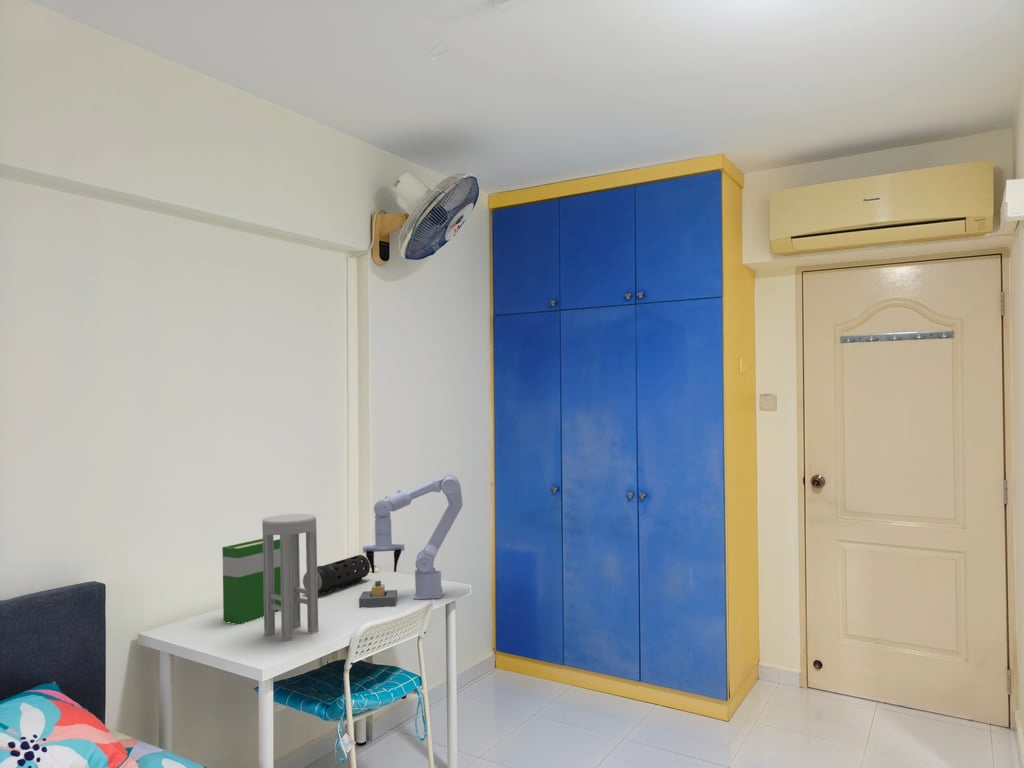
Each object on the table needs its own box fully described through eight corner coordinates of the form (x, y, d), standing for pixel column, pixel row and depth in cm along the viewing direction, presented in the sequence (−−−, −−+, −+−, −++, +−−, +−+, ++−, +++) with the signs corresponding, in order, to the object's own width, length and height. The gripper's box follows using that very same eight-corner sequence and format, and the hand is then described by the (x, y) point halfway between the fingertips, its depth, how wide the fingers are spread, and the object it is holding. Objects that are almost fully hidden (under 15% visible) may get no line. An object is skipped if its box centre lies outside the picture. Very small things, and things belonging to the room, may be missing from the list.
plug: (384, 601, 256) (384, 579, 256) (383, 604, 252) (383, 582, 252) (373, 602, 256) (372, 580, 256) (371, 605, 252) (371, 583, 252)
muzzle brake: (370, 581, 287) (370, 554, 287) (321, 599, 262) (321, 570, 262) (351, 579, 291) (351, 553, 292) (301, 596, 266) (300, 567, 267)
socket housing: (397, 598, 260) (397, 589, 260) (394, 606, 250) (394, 597, 250) (363, 600, 259) (362, 591, 259) (359, 607, 249) (359, 598, 249)
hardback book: (266, 608, 252) (265, 537, 252) (282, 610, 248) (280, 539, 249) (223, 621, 236) (222, 547, 237) (239, 624, 233) (237, 548, 233)
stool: (298, 622, 233) (296, 512, 234) (328, 631, 224) (325, 515, 225) (254, 635, 221) (252, 518, 222) (283, 644, 212) (281, 523, 213)
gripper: (361, 536, 256) (362, 575, 256) (403, 534, 257) (404, 573, 257) (363, 532, 263) (364, 570, 263) (404, 531, 264) (405, 568, 264)
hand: (384, 571), depth 260 cm, fingers open, 7 cm apart
